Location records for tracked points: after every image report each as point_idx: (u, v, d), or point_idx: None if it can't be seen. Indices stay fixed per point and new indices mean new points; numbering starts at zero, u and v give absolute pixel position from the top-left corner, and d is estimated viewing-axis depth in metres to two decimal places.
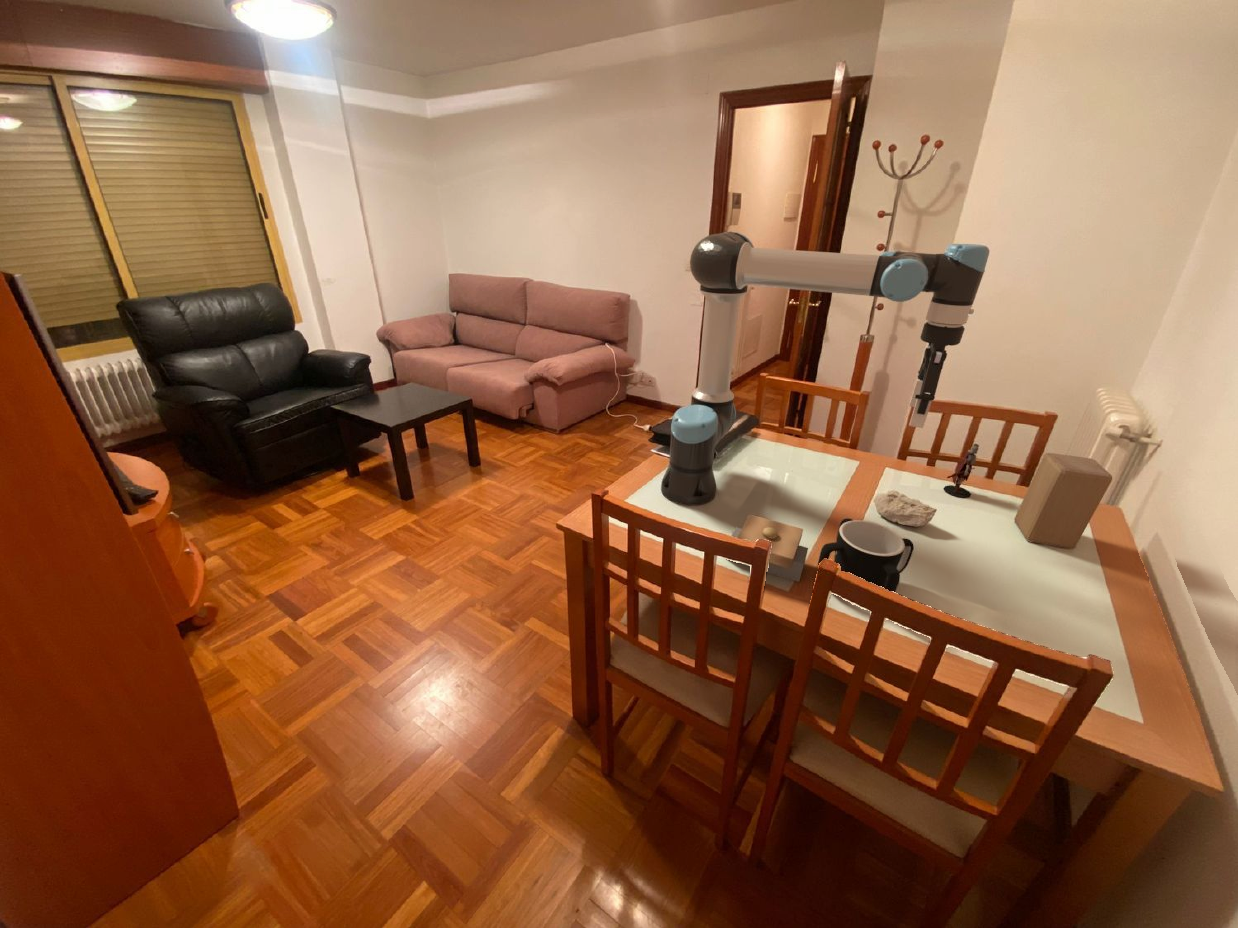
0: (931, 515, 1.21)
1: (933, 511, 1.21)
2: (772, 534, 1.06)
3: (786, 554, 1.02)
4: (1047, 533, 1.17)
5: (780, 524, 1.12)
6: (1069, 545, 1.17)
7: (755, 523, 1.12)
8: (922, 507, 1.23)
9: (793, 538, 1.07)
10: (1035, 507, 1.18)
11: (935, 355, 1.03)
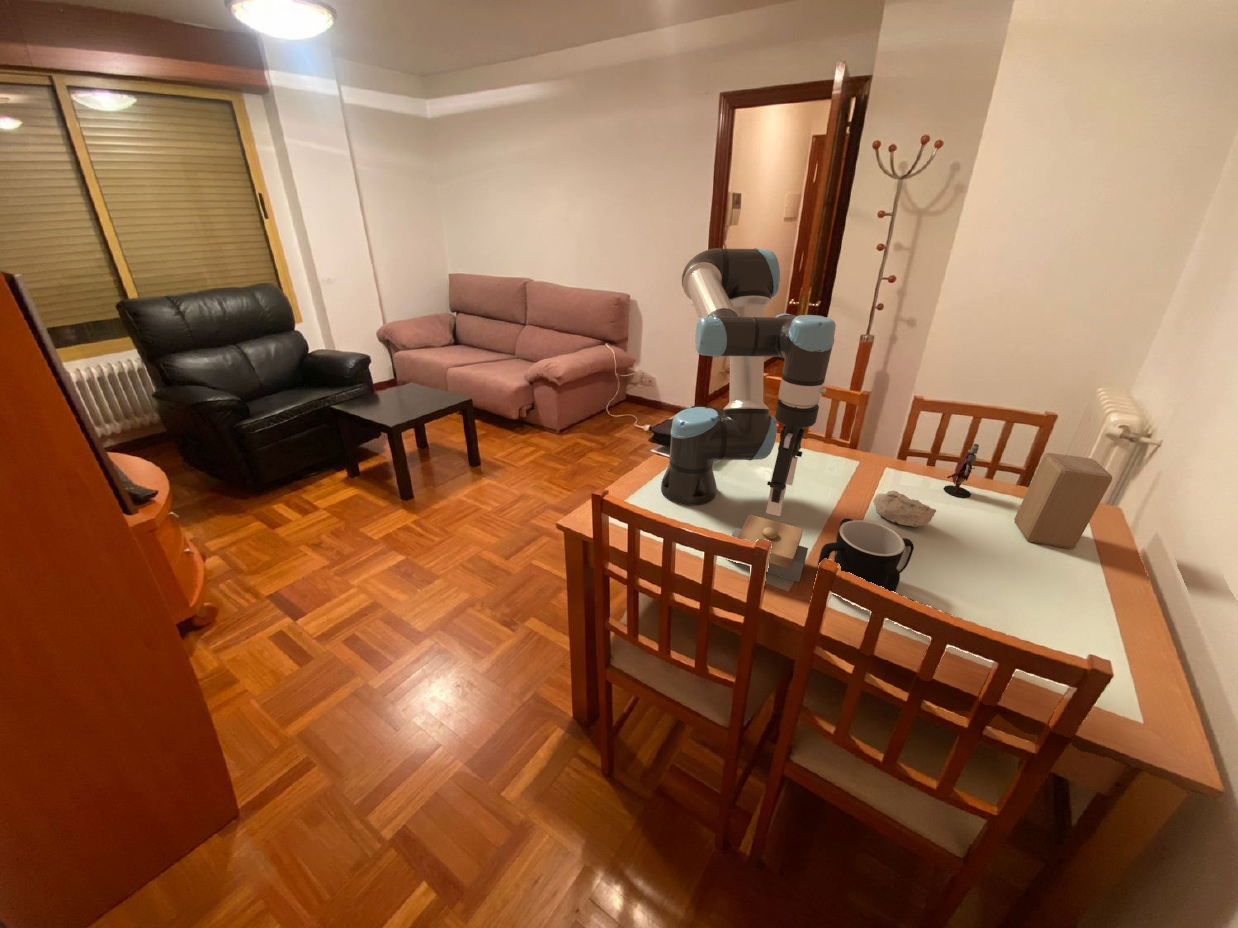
0: (930, 515, 1.21)
1: (932, 512, 1.21)
2: (772, 534, 1.06)
3: (786, 554, 1.02)
4: (1047, 533, 1.17)
5: (780, 524, 1.12)
6: (1069, 545, 1.17)
7: (755, 523, 1.12)
8: (922, 508, 1.22)
9: (793, 538, 1.07)
10: (1035, 507, 1.18)
11: (784, 440, 0.91)
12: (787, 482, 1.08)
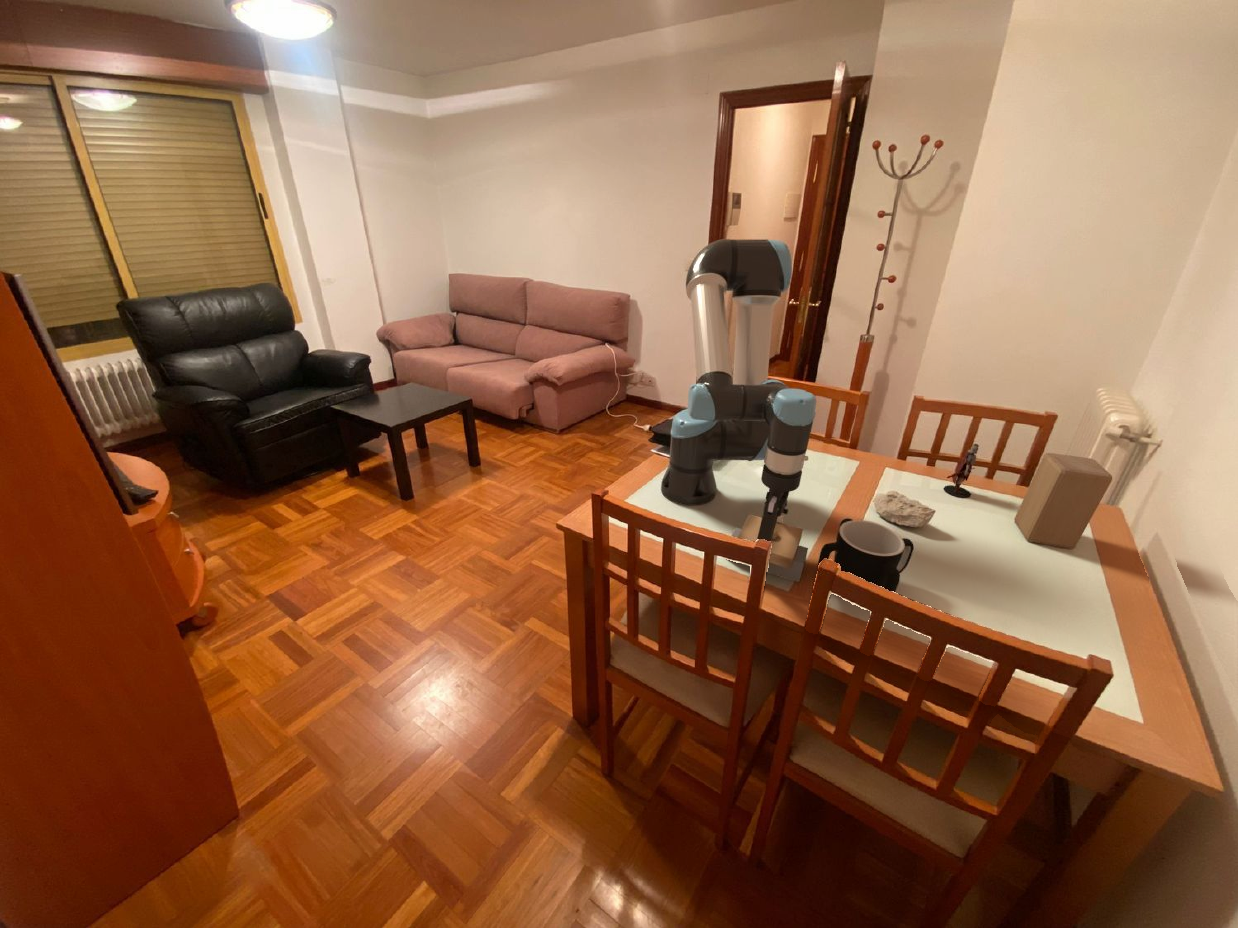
0: (929, 516, 1.21)
1: (932, 512, 1.21)
2: None
3: (786, 554, 1.02)
4: (1047, 533, 1.17)
5: (780, 524, 1.12)
6: (1069, 545, 1.17)
7: (755, 523, 1.12)
8: (921, 508, 1.22)
9: (793, 538, 1.07)
10: (1035, 507, 1.18)
11: (768, 505, 0.97)
12: None
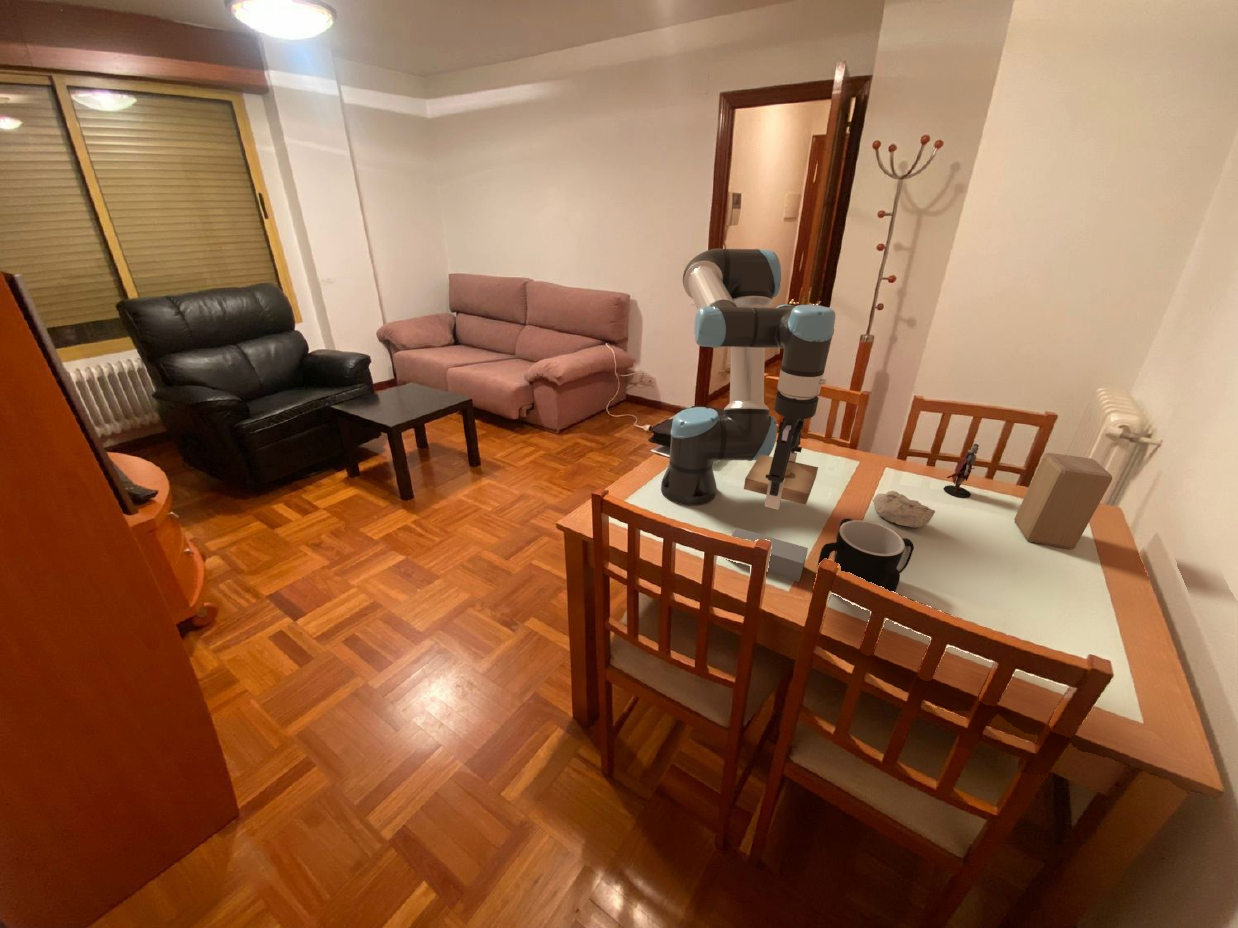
0: (929, 516, 1.21)
1: (931, 512, 1.21)
2: None
3: (800, 489, 0.95)
4: (1047, 533, 1.17)
5: (793, 463, 1.04)
6: (1069, 545, 1.17)
7: (767, 462, 1.04)
8: (921, 508, 1.22)
9: (807, 475, 1.00)
10: (1035, 507, 1.18)
11: (782, 432, 0.90)
12: None
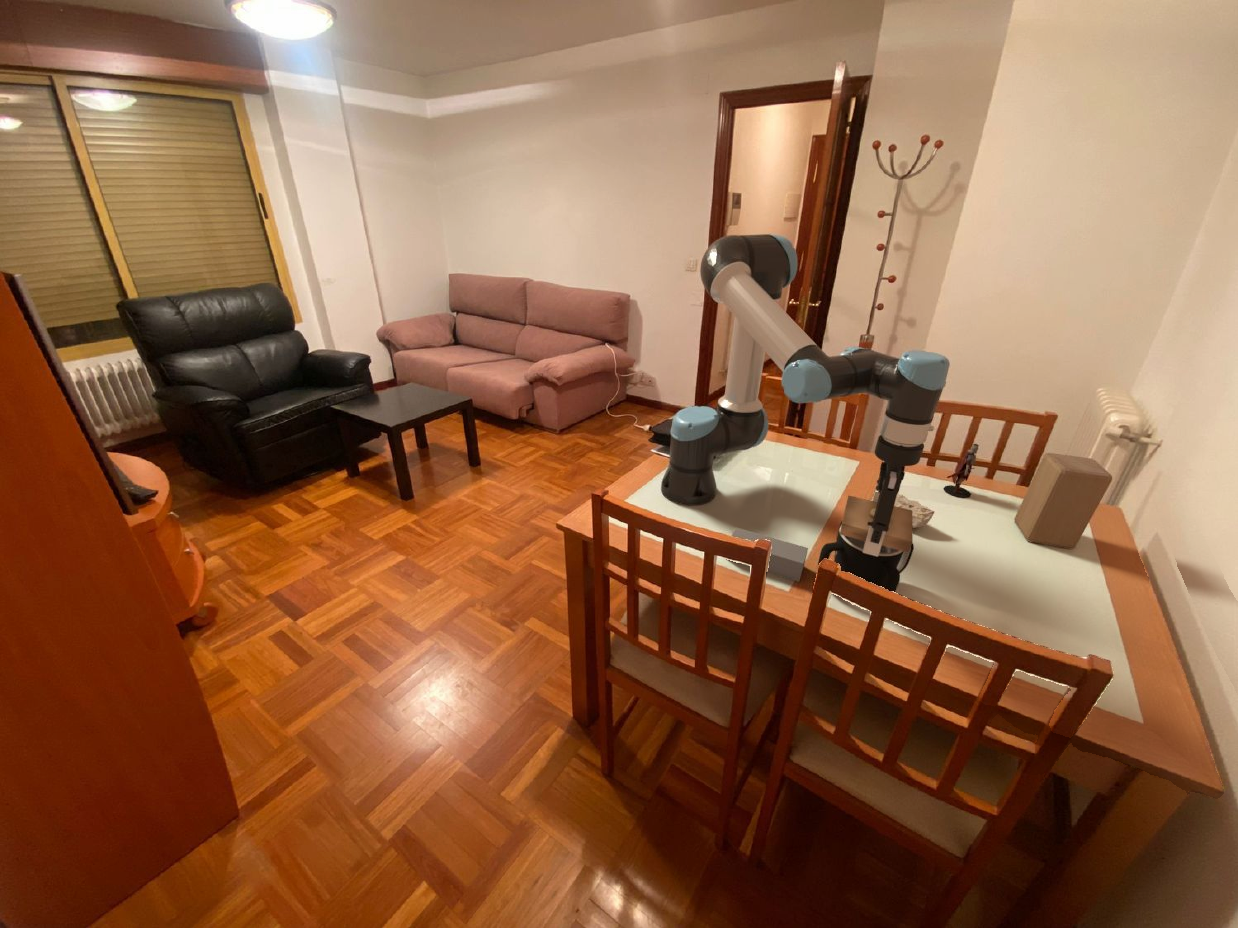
0: (928, 517, 1.20)
1: (930, 513, 1.21)
2: None
3: (903, 536, 0.92)
4: (1047, 533, 1.17)
5: None
6: (1069, 545, 1.17)
7: (858, 505, 1.02)
8: (920, 509, 1.22)
9: (904, 519, 0.97)
10: (1035, 507, 1.18)
11: (889, 480, 0.88)
12: None
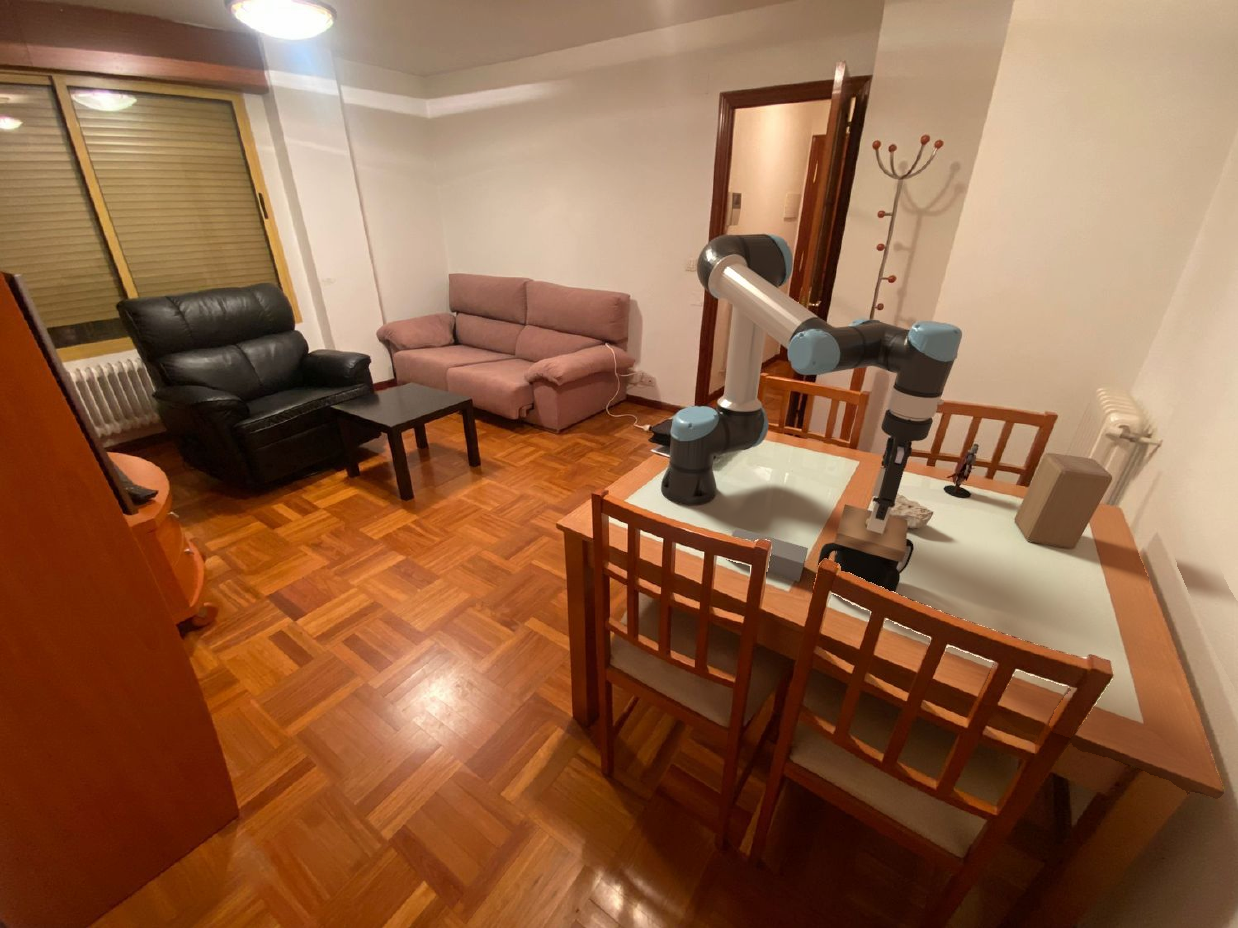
0: (927, 517, 1.20)
1: (930, 513, 1.21)
2: None
3: (896, 546, 0.93)
4: (1047, 533, 1.17)
5: None
6: (1069, 545, 1.17)
7: (854, 514, 1.03)
8: (919, 509, 1.22)
9: (899, 529, 0.98)
10: (1035, 507, 1.18)
11: (896, 454, 0.85)
12: None
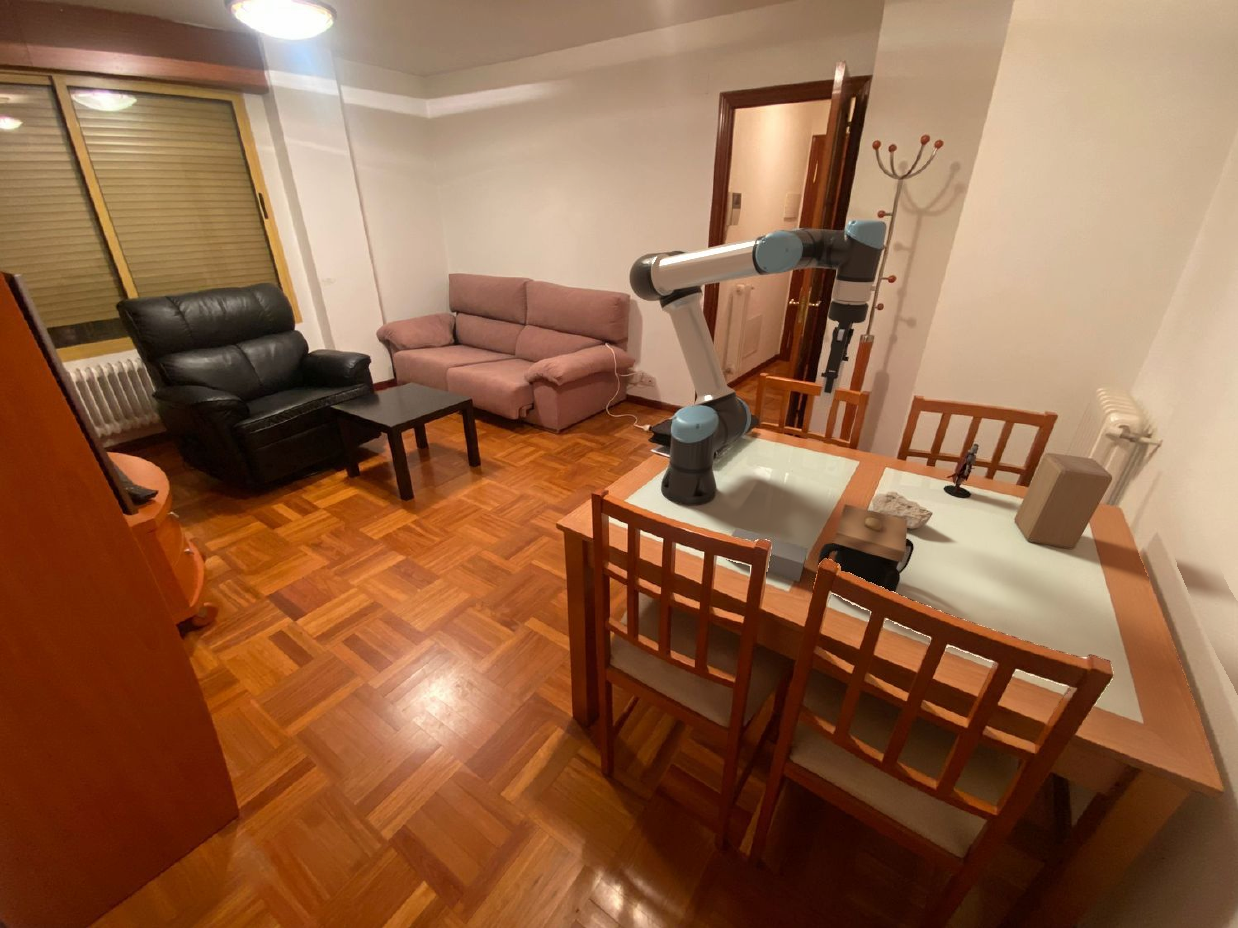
0: (926, 518, 1.20)
1: (928, 514, 1.20)
2: (877, 525, 0.98)
3: (896, 546, 0.93)
4: (1047, 533, 1.17)
5: (881, 514, 1.03)
6: (1069, 545, 1.17)
7: (854, 513, 1.03)
8: (918, 510, 1.22)
9: (899, 529, 0.98)
10: (1035, 507, 1.18)
11: (837, 332, 1.03)
12: None
